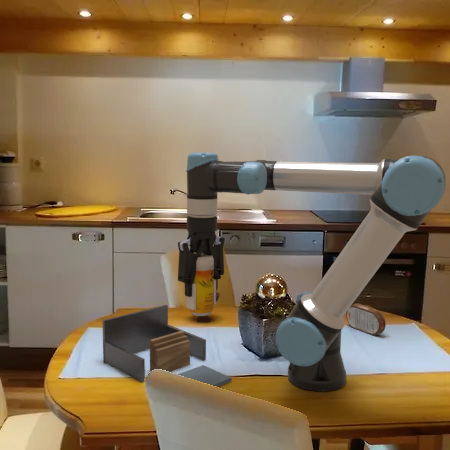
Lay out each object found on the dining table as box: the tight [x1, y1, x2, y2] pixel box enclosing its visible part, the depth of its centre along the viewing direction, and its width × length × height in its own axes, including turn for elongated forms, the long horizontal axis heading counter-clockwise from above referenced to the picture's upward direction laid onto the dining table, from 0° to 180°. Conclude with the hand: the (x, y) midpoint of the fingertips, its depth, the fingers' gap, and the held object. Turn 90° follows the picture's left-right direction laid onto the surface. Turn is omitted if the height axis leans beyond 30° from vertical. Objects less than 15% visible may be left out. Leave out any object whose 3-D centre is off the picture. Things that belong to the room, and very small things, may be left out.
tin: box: [345, 303, 387, 336], centre depth 178 cm, size 15×3×8 cm, turn 34°
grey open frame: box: [102, 304, 207, 383], centre depth 151 cm, size 18×22×12 cm
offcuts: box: [149, 330, 191, 373], centre depth 147 cm, size 4×11×9 cm, turn 134°
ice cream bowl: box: [195, 290, 221, 323], centre depth 187 cm, size 11×11×15 cm
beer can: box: [188, 253, 214, 317], centre depth 136 cm, size 6×6×15 cm
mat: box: [177, 364, 232, 388], centre depth 139 cm, size 11×11×1 cm
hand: (201, 305), depth 137 cm, fingers closed on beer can, 6 cm apart
